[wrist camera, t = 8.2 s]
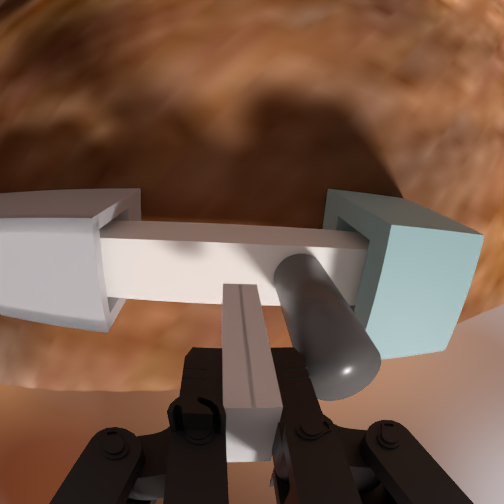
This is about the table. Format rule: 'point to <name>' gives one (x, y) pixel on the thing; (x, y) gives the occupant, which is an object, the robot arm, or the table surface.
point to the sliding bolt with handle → (268, 283)
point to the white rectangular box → (60, 255)
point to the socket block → (407, 270)
